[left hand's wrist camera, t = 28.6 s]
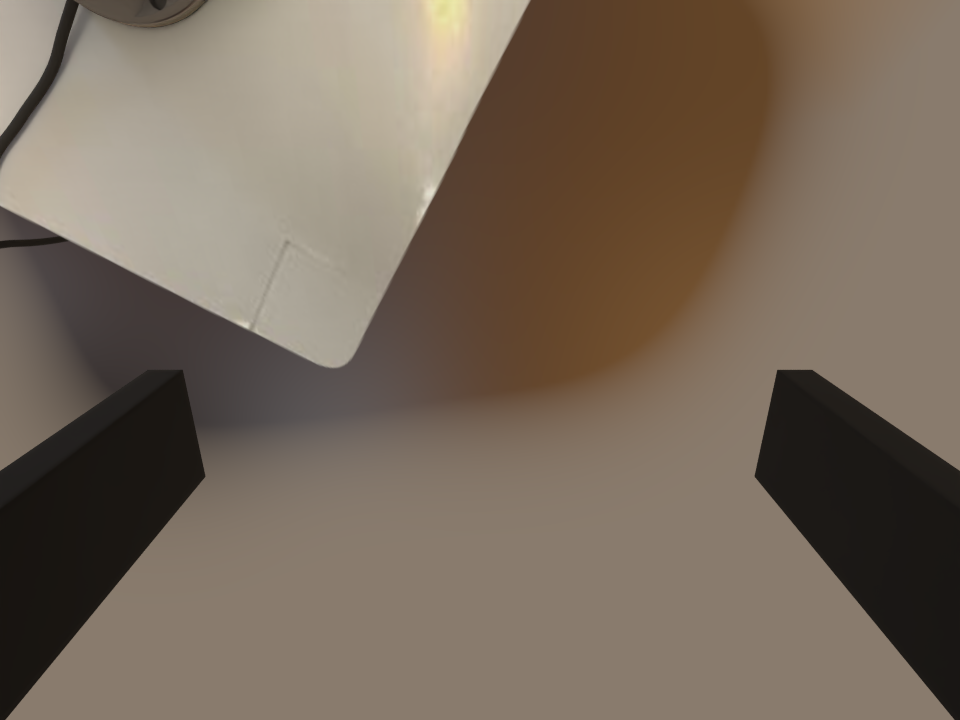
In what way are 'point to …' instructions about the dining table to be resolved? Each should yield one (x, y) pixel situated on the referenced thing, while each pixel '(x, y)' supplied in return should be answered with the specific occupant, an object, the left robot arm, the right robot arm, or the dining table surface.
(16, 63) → the dining table surface
